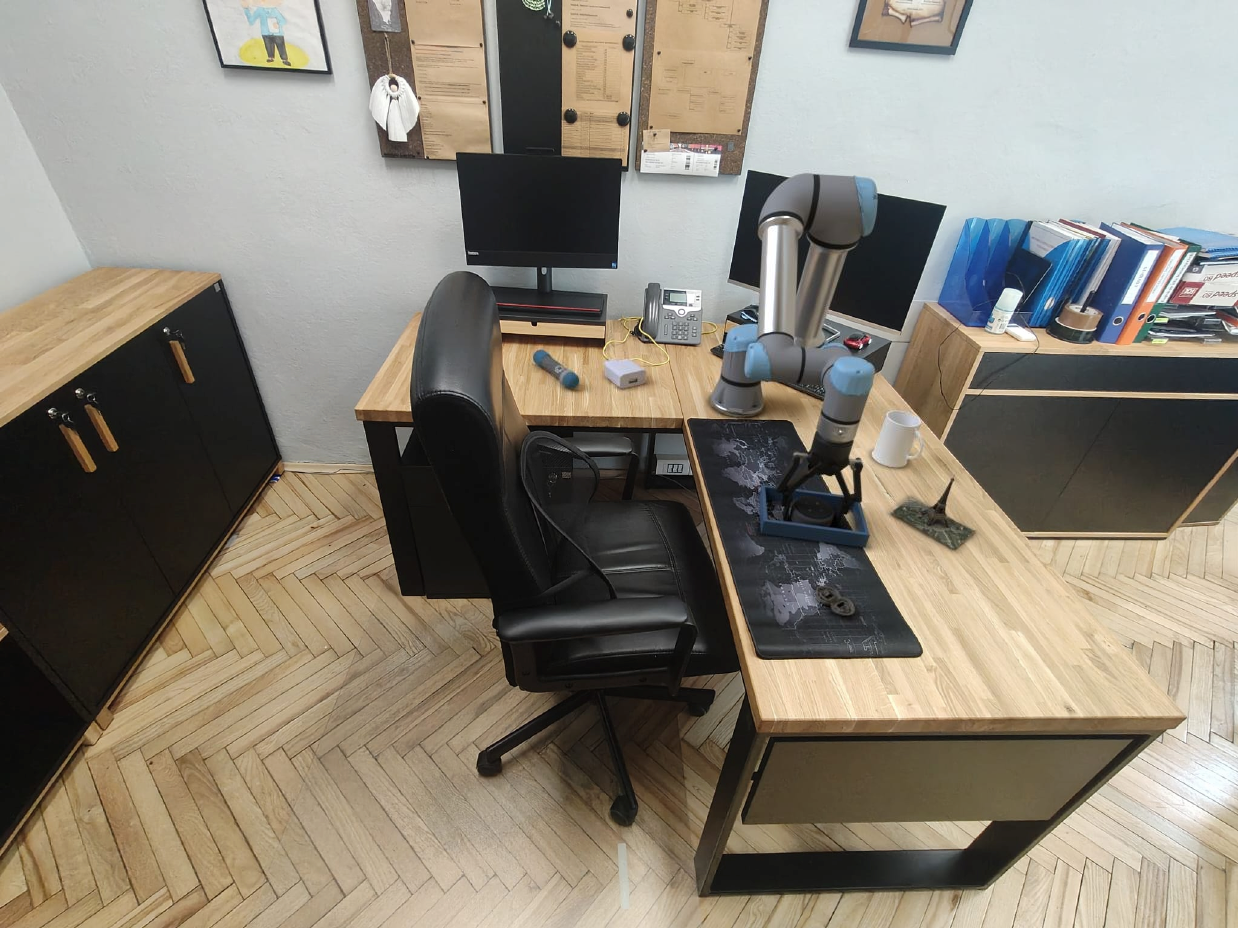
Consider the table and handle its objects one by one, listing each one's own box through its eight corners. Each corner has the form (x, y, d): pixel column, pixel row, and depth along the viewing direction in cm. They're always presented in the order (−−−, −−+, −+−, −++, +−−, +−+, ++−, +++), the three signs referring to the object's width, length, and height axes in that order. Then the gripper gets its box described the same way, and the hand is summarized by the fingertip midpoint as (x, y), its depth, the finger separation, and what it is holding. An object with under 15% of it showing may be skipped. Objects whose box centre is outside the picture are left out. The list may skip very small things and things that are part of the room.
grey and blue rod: (546, 362, 191) (546, 347, 188) (582, 389, 177) (582, 374, 174) (532, 365, 189) (532, 351, 186) (567, 393, 174) (567, 378, 172)
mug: (923, 471, 148) (940, 430, 141) (897, 477, 146) (913, 436, 139) (890, 447, 157) (904, 407, 150) (864, 452, 154) (878, 412, 148)
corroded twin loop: (842, 623, 107) (844, 619, 106) (808, 594, 112) (809, 591, 111) (860, 611, 109) (861, 607, 108) (825, 584, 114) (826, 580, 114)
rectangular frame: (758, 496, 137) (761, 484, 135) (854, 509, 135) (859, 496, 133) (760, 533, 126) (763, 520, 124) (865, 547, 124) (870, 535, 122)
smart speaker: (781, 520, 130) (785, 506, 128) (801, 503, 135) (805, 489, 133) (818, 540, 125) (822, 525, 123) (837, 521, 131) (841, 507, 128)
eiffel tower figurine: (888, 514, 133) (907, 465, 126) (911, 498, 139) (930, 450, 131) (953, 551, 124) (978, 501, 116) (975, 532, 130) (1000, 483, 122)
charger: (620, 364, 192) (645, 383, 182) (595, 370, 188) (619, 389, 178) (620, 350, 189) (646, 369, 179) (595, 356, 185) (620, 375, 175)
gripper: (777, 437, 116) (757, 524, 128) (898, 451, 113) (866, 539, 126) (775, 418, 122) (756, 503, 134) (890, 432, 119) (860, 517, 132)
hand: (809, 520), depth 130 cm, fingers open, 10 cm apart
